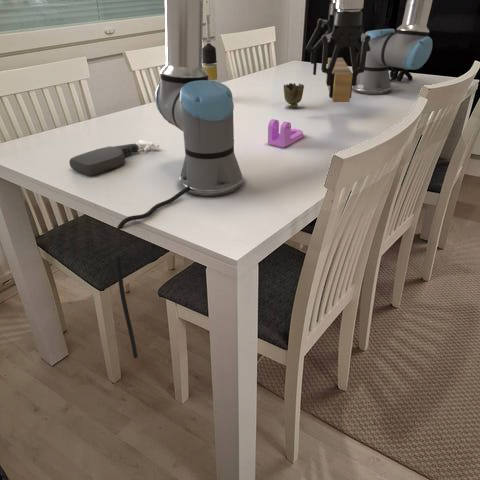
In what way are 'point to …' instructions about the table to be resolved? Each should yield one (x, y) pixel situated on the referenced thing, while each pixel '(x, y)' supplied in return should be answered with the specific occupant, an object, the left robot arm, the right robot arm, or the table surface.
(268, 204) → the table surface
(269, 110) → the table surface
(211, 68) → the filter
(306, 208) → the table surface
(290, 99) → the cup
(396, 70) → the squiggle
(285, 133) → the bracket
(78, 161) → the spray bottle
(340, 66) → the bar
